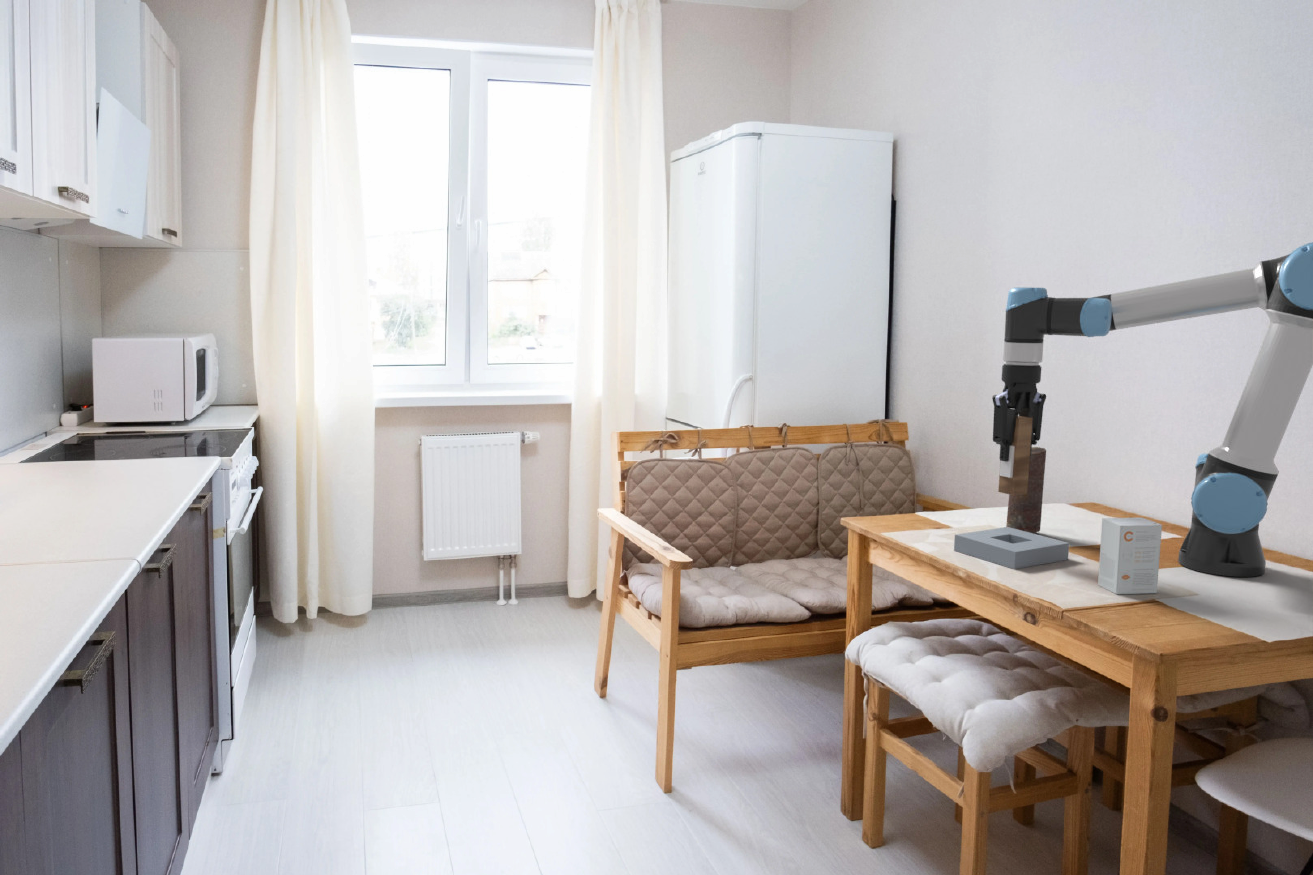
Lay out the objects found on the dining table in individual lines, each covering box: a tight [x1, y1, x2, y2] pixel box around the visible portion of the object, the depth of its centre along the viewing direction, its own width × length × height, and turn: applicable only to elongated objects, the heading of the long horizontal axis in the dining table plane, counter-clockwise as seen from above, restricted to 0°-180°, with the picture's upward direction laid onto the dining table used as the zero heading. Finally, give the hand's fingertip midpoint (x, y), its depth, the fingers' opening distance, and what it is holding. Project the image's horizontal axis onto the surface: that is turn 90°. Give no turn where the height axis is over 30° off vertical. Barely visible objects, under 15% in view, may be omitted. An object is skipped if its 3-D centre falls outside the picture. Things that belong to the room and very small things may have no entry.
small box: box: [1097, 517, 1163, 595], centre depth 174 cm, size 8×6×13 cm
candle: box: [1005, 446, 1047, 534], centre depth 216 cm, size 8×7×20 cm
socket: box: [953, 526, 1070, 570], centre depth 198 cm, size 16×16×4 cm
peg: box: [997, 415, 1033, 495], centre depth 196 cm, size 4×4×16 cm
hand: (1014, 475), depth 196 cm, fingers closed on peg, 4 cm apart
